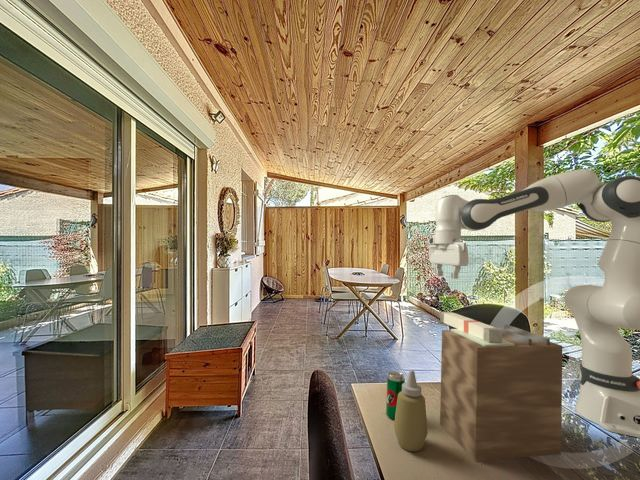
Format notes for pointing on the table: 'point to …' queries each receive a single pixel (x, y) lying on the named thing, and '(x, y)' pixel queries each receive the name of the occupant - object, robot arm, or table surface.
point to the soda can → (393, 392)
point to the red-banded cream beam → (472, 327)
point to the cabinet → (502, 395)
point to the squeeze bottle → (411, 416)
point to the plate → (482, 342)
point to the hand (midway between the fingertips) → (447, 277)
